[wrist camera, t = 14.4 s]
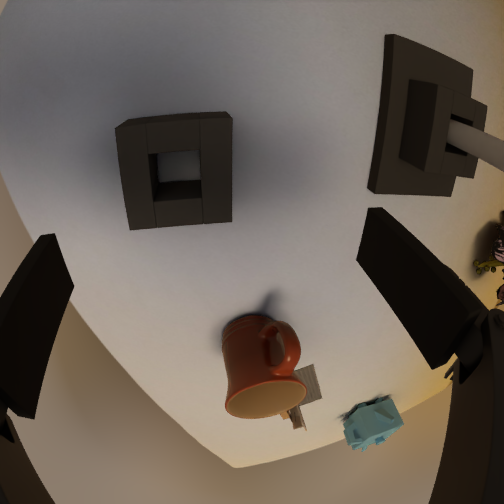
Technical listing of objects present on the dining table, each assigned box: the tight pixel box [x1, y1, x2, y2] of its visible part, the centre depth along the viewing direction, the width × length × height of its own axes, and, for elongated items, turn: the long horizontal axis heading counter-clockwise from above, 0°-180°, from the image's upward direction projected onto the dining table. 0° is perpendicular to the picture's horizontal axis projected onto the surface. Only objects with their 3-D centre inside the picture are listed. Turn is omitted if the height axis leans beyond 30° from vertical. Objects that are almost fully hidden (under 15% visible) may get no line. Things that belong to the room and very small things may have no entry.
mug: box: [222, 315, 307, 419], centre depth 31 cm, size 12×9×10 cm
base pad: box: [367, 34, 504, 197], centre depth 19 cm, size 16×12×12 cm
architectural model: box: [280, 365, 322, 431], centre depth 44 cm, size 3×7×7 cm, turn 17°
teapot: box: [343, 398, 404, 452], centre depth 58 cm, size 16×18×11 cm
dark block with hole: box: [399, 79, 487, 178], centre depth 21 cm, size 8×8×4 cm
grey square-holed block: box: [115, 111, 233, 230], centre depth 21 cm, size 8×8×4 cm
